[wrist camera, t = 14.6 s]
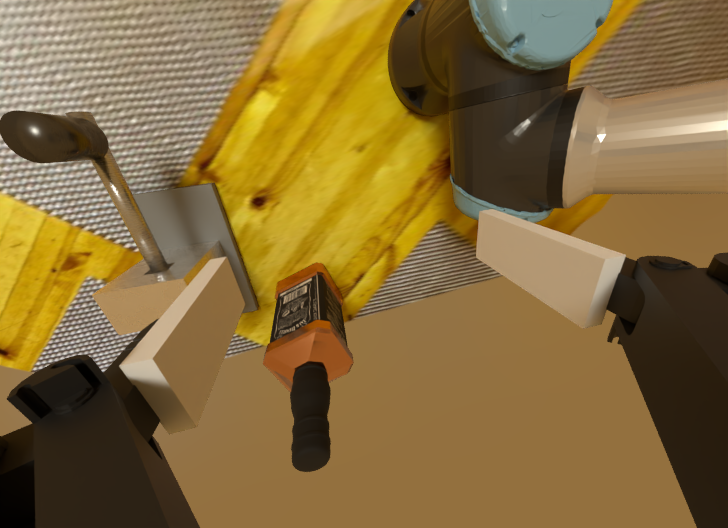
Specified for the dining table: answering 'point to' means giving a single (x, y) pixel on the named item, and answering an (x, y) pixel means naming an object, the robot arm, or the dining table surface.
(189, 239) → the base board
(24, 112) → the crank handle
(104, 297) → the block
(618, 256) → the robot arm
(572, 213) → the dining table surface
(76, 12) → the dining table surface
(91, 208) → the dining table surface
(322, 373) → the whiskey bottle
